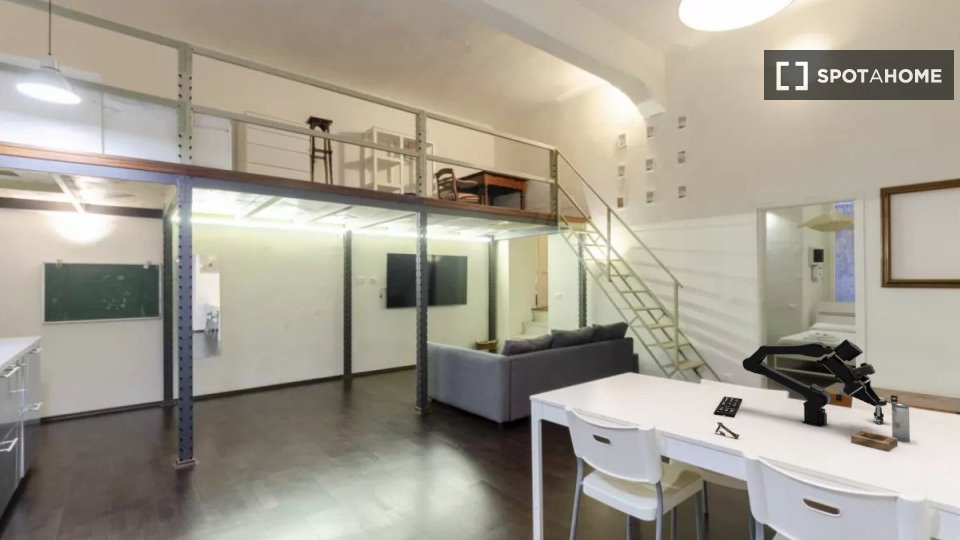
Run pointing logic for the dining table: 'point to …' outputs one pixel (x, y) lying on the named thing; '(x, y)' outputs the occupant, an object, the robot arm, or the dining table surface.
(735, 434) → the wooden post with brackets
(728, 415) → the remote control
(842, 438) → the dining table surface
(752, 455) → the dining table surface
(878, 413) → the push button
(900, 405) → the metal canister
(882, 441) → the frame
